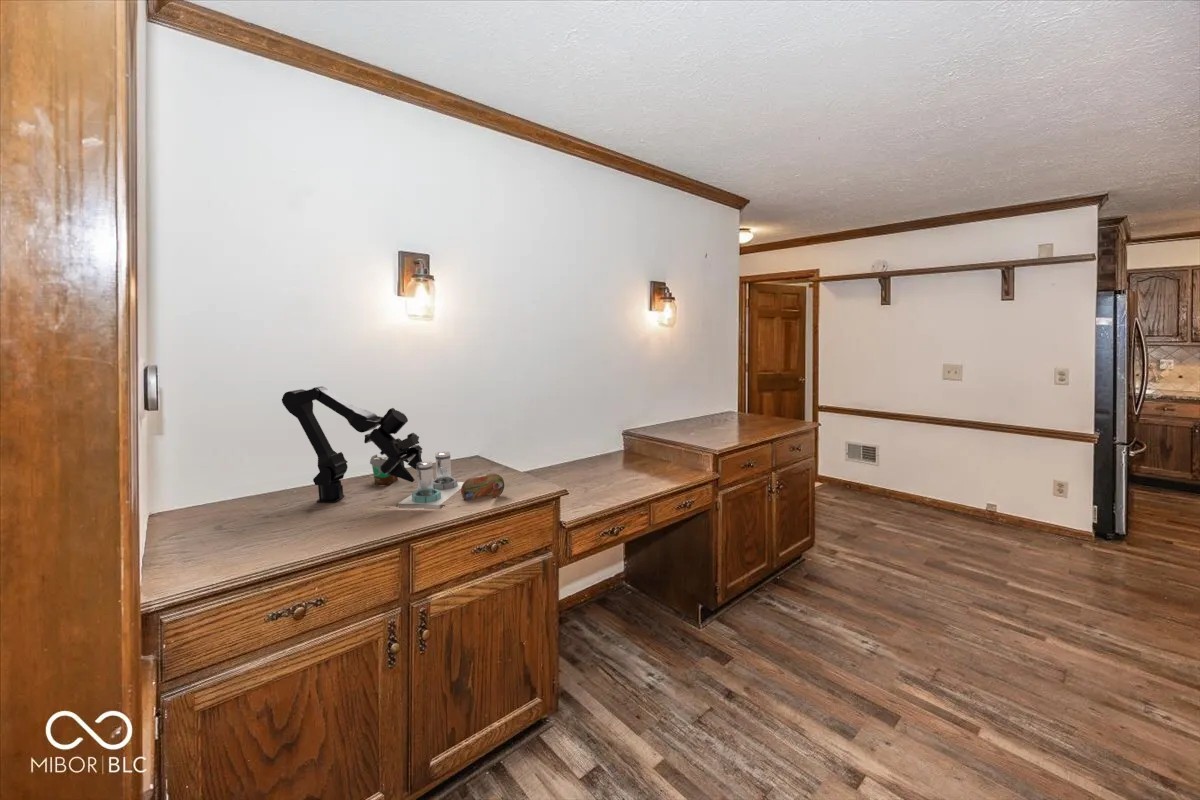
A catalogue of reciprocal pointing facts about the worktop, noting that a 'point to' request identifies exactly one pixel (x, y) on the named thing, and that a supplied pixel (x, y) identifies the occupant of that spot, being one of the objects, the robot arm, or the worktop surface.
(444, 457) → the clear lidded jar
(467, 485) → the tin
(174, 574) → the worktop surface
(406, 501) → the pallet
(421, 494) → the cylinder
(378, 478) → the food container
